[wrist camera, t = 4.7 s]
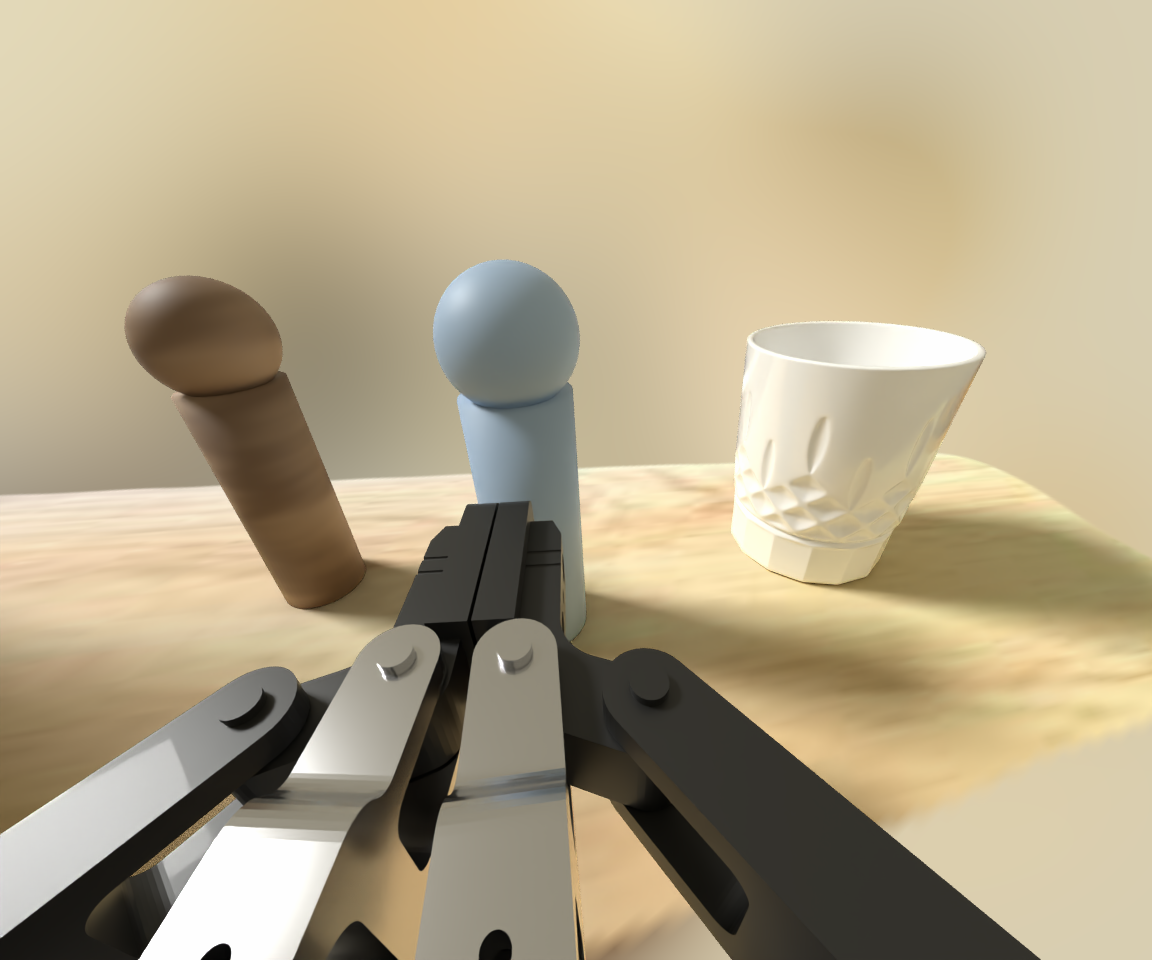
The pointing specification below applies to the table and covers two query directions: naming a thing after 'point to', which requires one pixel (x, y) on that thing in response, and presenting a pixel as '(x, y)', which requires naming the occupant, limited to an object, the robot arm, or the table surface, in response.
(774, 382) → the white cup
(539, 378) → the blue pin
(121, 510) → the table surface
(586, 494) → the table surface
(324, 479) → the walnut pin
